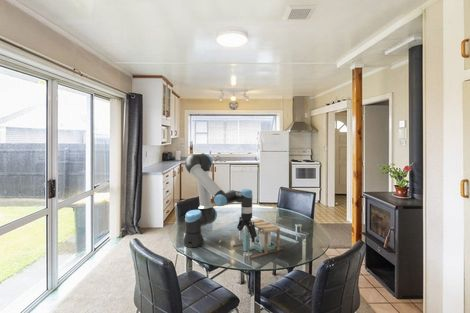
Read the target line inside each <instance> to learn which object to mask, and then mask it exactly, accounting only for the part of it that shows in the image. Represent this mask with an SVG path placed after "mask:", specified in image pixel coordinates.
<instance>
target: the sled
mask: <svg viewBox="0 0 470 313" xmlns="http://www.w3.org/2000/svg"><path fill="white" fill-rule="evenodd" d="M250 237H251V235H250V232H249V233H248V232H247V231H245V232H243V239H242V242H243V244H242V251H244V252H245V251H247V252H249V251H251V250H256V251H258V252H260V253H264V248H261V247H260V246H259V245H258V244H255V243H254V246H253V247H250ZM256 242H257V243H259V238H258V237H256ZM274 249H276V244H275V243H274V242H272V241H271V247H268V249H267V251H271V250H274Z"/></svg>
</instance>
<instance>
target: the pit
mask: <svg viewBox="0 0 470 313" xmlns="http://www.w3.org/2000/svg"><path fill="white" fill-rule="evenodd" d="M271 241H272V242H274V243H275V244H276V238H271ZM284 246H287V244H286V243H284V242H281V241H280V242H279V248H281V247H284Z"/></svg>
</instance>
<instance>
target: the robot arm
mask: <svg viewBox="0 0 470 313" xmlns="http://www.w3.org/2000/svg"><path fill="white" fill-rule="evenodd" d="M184 161H185V162H184V167H185V169H186V171H187V172H188V174H190V175H191V176H194V177H195V179H196V180H197V186H198V187H197V189H198V197H199V198H198V199H199V206H198V207H197V209H192V210H191V209H190V210H188V211H187V212H186V213H185V216H184V217H185V218H184V221H185V222H184V223H185V231H184V232H185V233H184V237H183V239H182V245H183V246H184V247H186V248H198V247H201V246H203V245H204V243H205V239H204V235H203V233H202V229H203V228H202V227H205V226H207V225H211V224H213V223H215V221H216V220H217V217H218V213H217V210H216V208H215V207H214V206H213V204H212V200H211V199H212V198H211V197H213V201H214V204H215V205H216V206H217V207H224V206H226V205H229V204H232V203H240V206H241V208H240V210H241V213H240V216H239V220H238V223H237V226H236V227H237V228H236V229H237V230H238V240H239V241H241V240H242V241H243V233H244V230H243V229H244V227H245V228H246V229H247V228H248V230H249V234H250V245H249V247H253V246H254V244H255V242H254V241H255V237H256V238H258V236H257V234H258V233H257V231H256V227H255V226H254V221H253V222H251V220H252V219H253V197H254V196H253V190H252V189H249V188H243V189H241V191H240V190H239V191H238V190H234V189H230V190H228V191H226V192H225V191H224V190H223V189H222V188H221V186H219V185H218V184H217V183H216V181H214V179H213V178H211V176H210V174H209V173H210V172H211V168H212V166H213V159H212V157H211V156H210V155H209V154H207V153H198V154H190V155H189V156H187V157H186V158H185V160H184Z"/></svg>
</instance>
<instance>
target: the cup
mask: <svg viewBox="0 0 470 313" xmlns="http://www.w3.org/2000/svg"><path fill="white" fill-rule="evenodd" d="M256 234H257V237H258V236H259V241H258V242H256V238H257V237H255V241H254V244H256V245H257V246H259V247H261V248H262V249H264V240H265V232H264V231H262V230H261V231H260V232H259V234H258V233H256ZM271 239H272V231H271V232H268V247H271Z"/></svg>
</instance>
